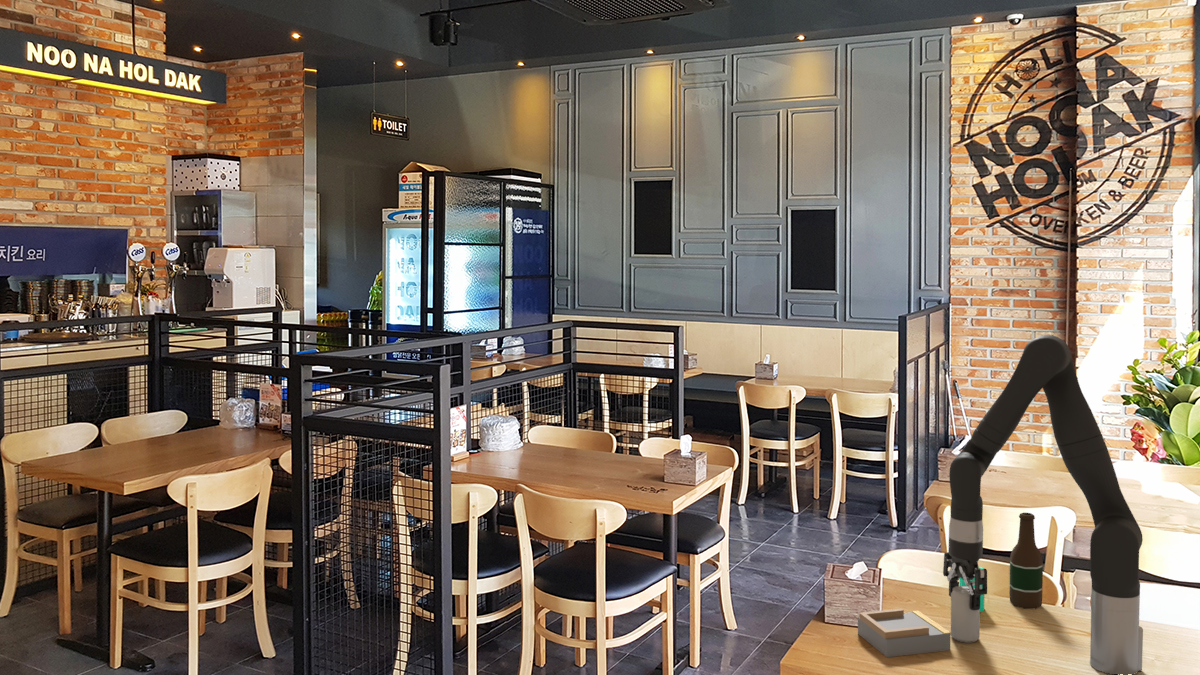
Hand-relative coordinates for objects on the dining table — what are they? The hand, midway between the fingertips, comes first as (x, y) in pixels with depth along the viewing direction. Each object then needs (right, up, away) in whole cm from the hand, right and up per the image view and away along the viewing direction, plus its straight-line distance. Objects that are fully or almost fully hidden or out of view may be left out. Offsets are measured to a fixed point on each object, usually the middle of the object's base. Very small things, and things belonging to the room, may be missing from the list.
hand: (963, 603), depth 220 cm
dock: (-15, -9, -1) cm, 17 cm away
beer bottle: (+25, -7, +22) cm, 33 cm away
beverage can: (0, -9, 0) cm, 9 cm away
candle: (+10, -7, +20) cm, 23 cm away
